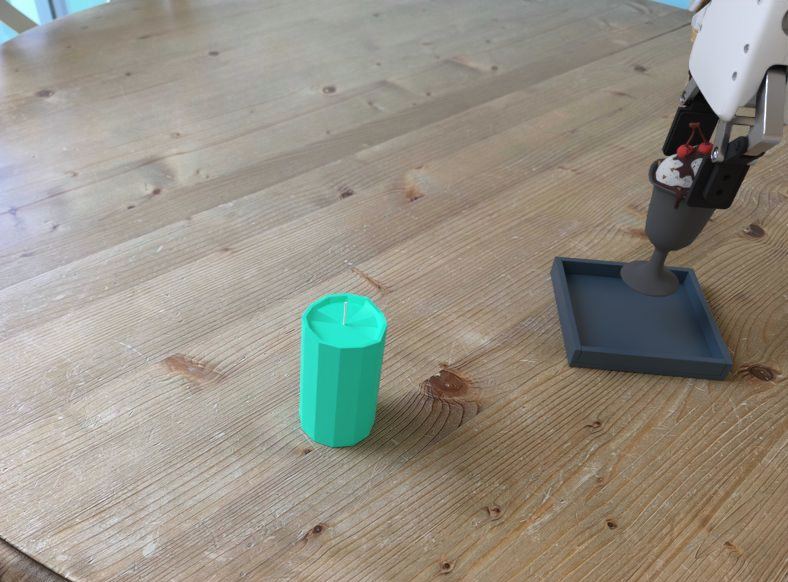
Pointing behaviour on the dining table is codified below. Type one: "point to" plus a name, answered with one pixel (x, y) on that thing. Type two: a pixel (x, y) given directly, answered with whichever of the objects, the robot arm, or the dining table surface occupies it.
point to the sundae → (669, 218)
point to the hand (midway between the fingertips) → (693, 178)
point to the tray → (636, 323)
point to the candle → (340, 368)
